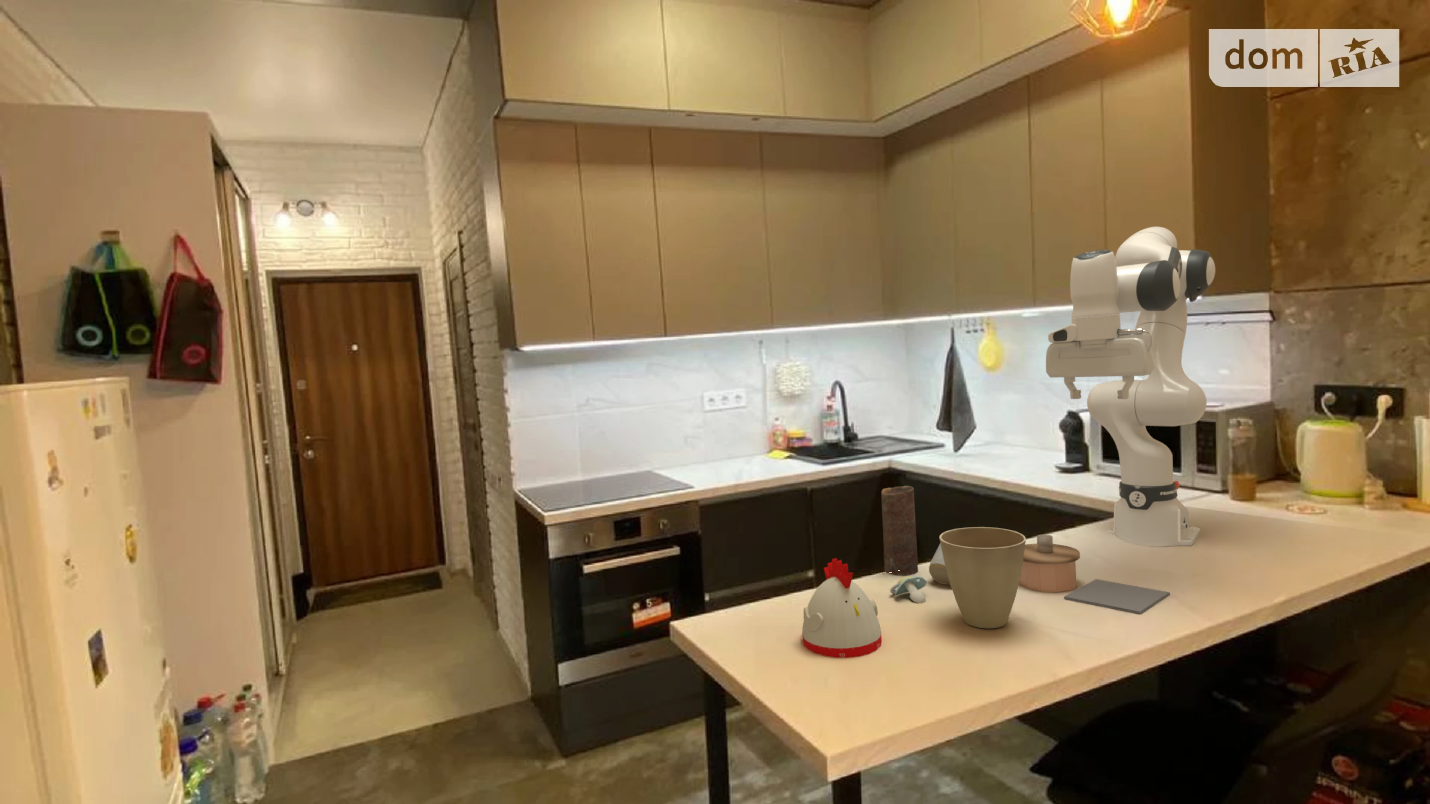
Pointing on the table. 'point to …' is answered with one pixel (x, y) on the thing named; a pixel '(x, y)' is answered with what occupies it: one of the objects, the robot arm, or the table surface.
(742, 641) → the table surface
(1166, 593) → the mat
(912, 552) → the brown textured cylinder
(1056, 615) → the table surface
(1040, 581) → the bowl
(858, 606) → the kitchen timer
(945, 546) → the plant pot
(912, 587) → the pacifier
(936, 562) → the ceramic mug
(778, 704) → the table surface
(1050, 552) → the lid
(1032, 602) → the table surface
